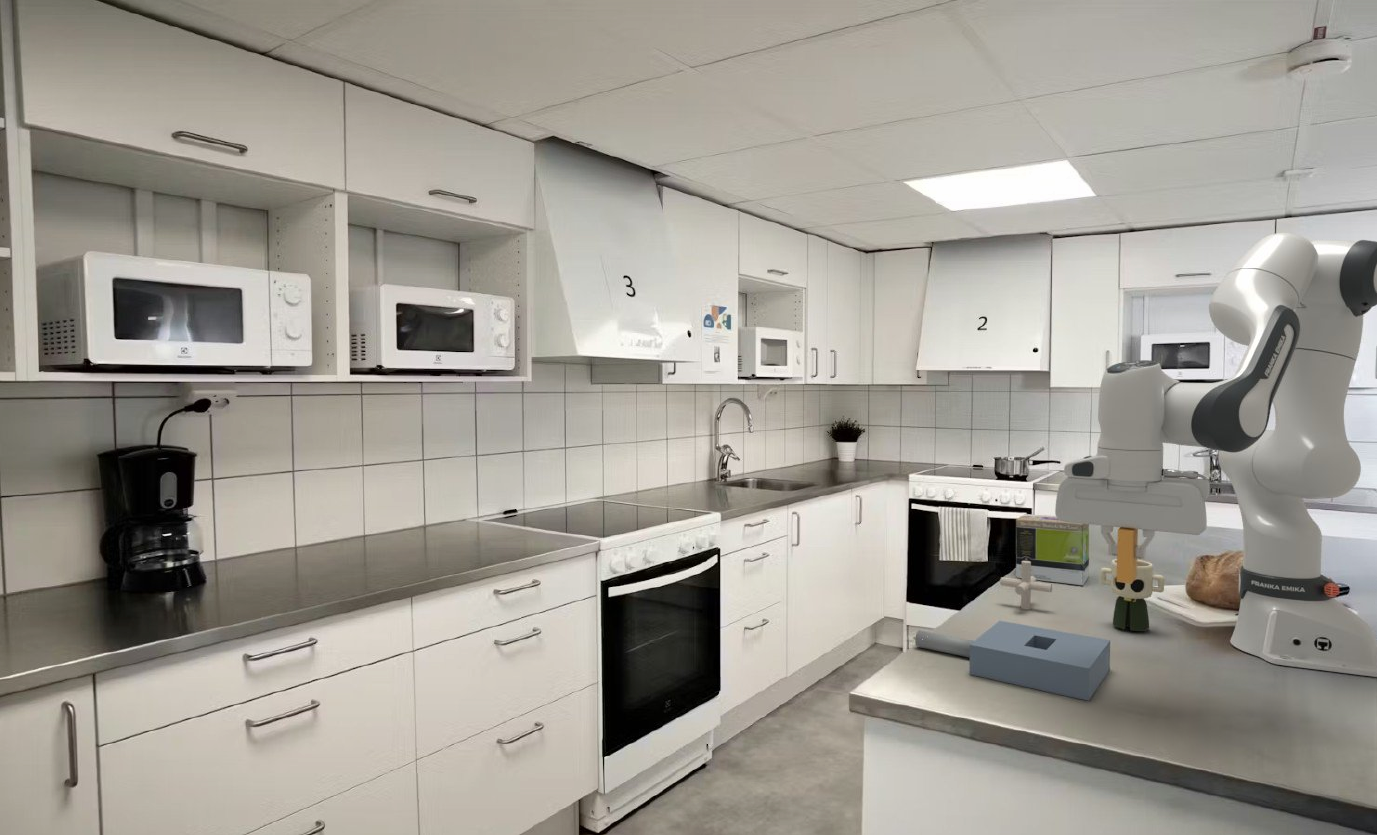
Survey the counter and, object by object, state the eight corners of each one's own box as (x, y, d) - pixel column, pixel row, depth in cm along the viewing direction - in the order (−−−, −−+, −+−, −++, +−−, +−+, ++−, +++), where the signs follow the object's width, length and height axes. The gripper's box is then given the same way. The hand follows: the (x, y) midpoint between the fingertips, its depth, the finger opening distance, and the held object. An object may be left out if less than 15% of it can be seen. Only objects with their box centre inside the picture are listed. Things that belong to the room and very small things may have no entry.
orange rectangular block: (1122, 575, 124) (1123, 524, 124) (1136, 577, 123) (1138, 526, 123) (1116, 581, 120) (1117, 529, 120) (1131, 583, 119) (1132, 531, 119)
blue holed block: (1109, 669, 133) (1110, 640, 132) (1088, 700, 120) (1089, 668, 120) (934, 635, 151) (934, 609, 151) (900, 659, 139) (900, 631, 138)
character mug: (1095, 627, 155) (1096, 562, 154) (1104, 619, 160) (1105, 555, 159) (1159, 639, 148) (1160, 570, 147) (1166, 629, 153) (1167, 563, 152)
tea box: (1089, 577, 192) (1090, 517, 192) (1083, 587, 184) (1084, 524, 183) (1023, 569, 201) (1024, 512, 200) (1014, 578, 193) (1015, 518, 192)
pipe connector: (1045, 618, 161) (1045, 569, 160) (994, 610, 167) (994, 563, 166) (1056, 606, 169) (1057, 560, 168) (1007, 599, 175) (1008, 554, 174)
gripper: (1212, 469, 117) (1209, 562, 118) (1062, 461, 130) (1061, 544, 130) (1208, 474, 112) (1205, 570, 113) (1053, 464, 125) (1051, 551, 125)
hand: (1126, 556), depth 122 cm, fingers closed on orange rectangular block, 2 cm apart
